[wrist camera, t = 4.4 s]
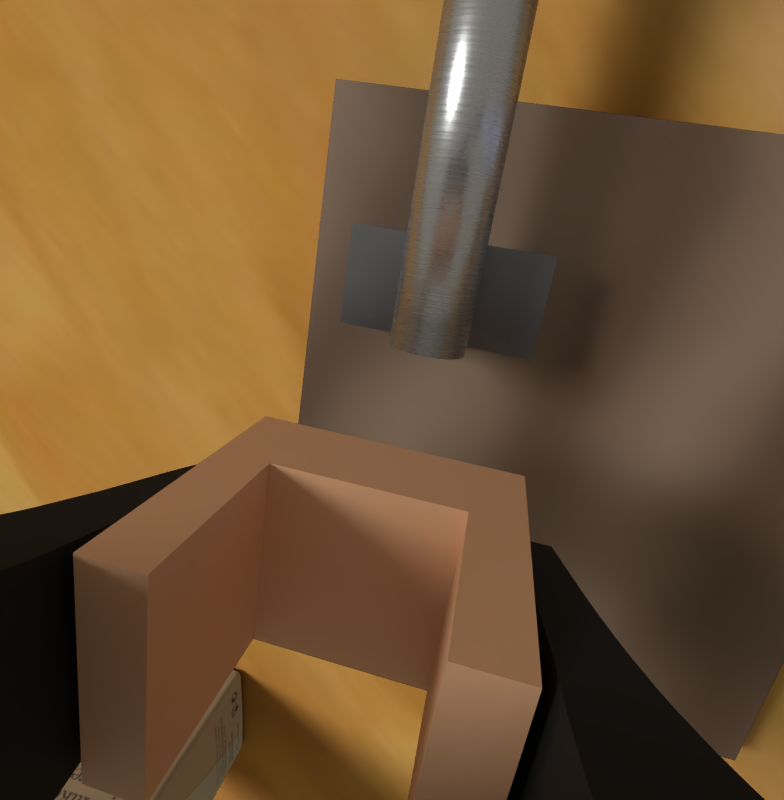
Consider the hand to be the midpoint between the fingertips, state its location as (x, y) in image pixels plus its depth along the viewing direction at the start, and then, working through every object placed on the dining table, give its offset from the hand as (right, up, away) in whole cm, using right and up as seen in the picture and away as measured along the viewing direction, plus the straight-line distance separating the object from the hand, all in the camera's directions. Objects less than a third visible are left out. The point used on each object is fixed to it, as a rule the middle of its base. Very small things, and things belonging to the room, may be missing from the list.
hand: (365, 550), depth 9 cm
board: (+6, +1, +7) cm, 9 cm away
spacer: (0, 0, +1) cm, 1 cm away
